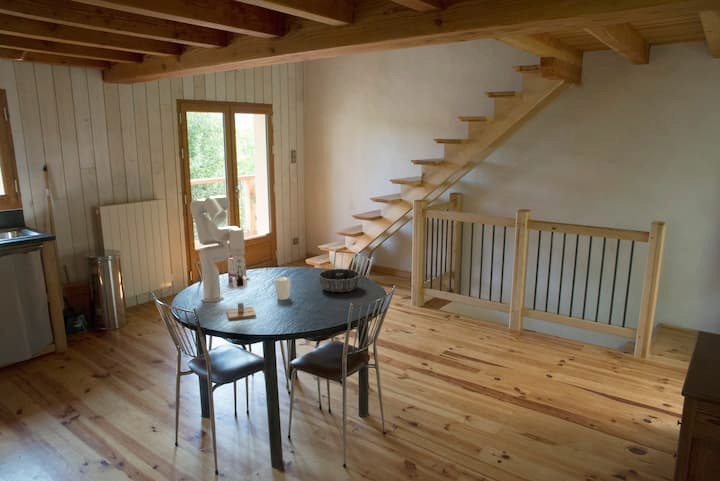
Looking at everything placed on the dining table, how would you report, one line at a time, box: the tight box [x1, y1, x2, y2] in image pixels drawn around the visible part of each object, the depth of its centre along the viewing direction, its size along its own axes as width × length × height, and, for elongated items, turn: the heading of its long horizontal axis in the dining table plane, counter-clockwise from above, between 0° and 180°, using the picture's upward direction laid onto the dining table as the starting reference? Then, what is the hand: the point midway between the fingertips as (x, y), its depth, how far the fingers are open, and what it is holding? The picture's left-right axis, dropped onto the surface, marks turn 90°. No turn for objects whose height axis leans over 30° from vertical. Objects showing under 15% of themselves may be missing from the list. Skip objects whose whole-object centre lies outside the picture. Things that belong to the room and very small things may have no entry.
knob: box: [232, 276, 250, 289], centre depth 266 cm, size 8×6×4 cm
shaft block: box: [226, 301, 257, 321], centre depth 269 cm, size 14×14×6 cm
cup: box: [274, 276, 291, 301], centre depth 297 cm, size 9×9×12 cm
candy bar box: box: [226, 257, 247, 284], centre depth 332 cm, size 11×5×16 cm, turn 73°
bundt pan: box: [317, 268, 361, 293], centre depth 315 cm, size 26×26×10 cm
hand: (239, 284), depth 266 cm, fingers closed on knob, 6 cm apart
